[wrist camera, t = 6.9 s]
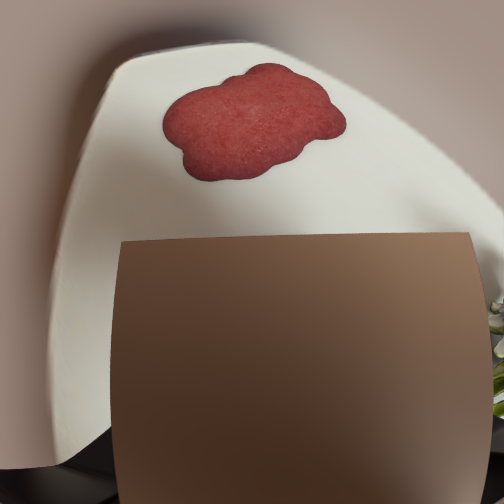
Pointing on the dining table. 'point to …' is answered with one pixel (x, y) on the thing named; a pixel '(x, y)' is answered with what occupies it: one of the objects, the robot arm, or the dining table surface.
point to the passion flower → (498, 354)
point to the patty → (250, 123)
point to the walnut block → (301, 370)
